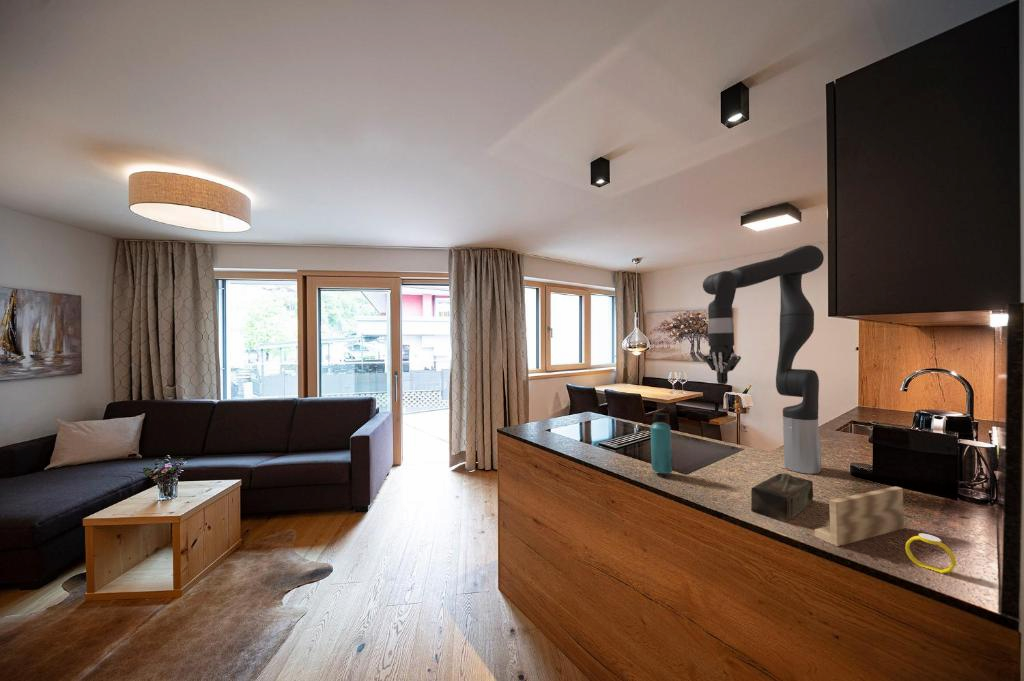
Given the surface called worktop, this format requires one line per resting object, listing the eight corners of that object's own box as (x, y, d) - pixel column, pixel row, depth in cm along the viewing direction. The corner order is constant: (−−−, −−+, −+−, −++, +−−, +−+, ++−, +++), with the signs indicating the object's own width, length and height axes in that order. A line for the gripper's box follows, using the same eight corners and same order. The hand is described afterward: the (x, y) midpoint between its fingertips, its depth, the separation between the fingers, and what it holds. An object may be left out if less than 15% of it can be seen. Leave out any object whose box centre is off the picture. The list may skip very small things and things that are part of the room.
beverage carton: (815, 503, 94) (814, 478, 95) (787, 525, 83) (786, 497, 84) (779, 493, 101) (778, 469, 101) (749, 512, 90) (748, 486, 90)
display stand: (880, 519, 85) (878, 481, 85) (904, 528, 80) (902, 488, 81) (814, 536, 78) (813, 494, 78) (837, 546, 74) (835, 502, 74)
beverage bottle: (675, 478, 113) (673, 415, 113) (653, 477, 114) (651, 414, 114) (670, 471, 119) (668, 411, 120) (649, 470, 120) (647, 411, 121)
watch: (955, 575, 65) (957, 543, 65) (953, 581, 63) (955, 548, 63) (906, 557, 70) (908, 527, 70) (903, 562, 68) (905, 531, 68)
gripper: (747, 331, 115) (749, 385, 115) (713, 332, 127) (714, 381, 127) (729, 331, 113) (731, 386, 112) (696, 333, 125) (697, 382, 125)
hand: (722, 383), depth 120 cm, fingers closed
